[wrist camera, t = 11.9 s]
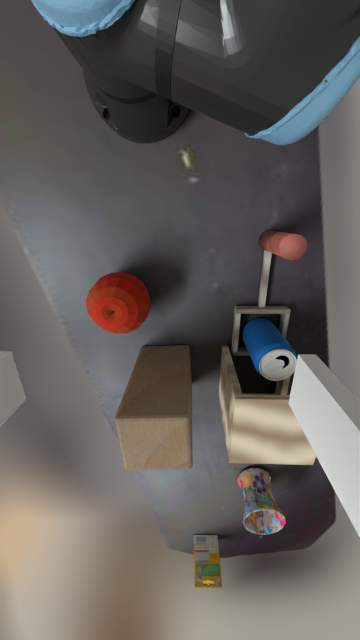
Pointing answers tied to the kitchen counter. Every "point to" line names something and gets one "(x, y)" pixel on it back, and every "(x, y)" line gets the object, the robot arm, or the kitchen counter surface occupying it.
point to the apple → (118, 302)
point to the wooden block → (157, 411)
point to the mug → (260, 503)
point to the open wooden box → (260, 422)
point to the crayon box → (207, 561)
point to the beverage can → (269, 350)
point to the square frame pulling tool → (282, 246)
